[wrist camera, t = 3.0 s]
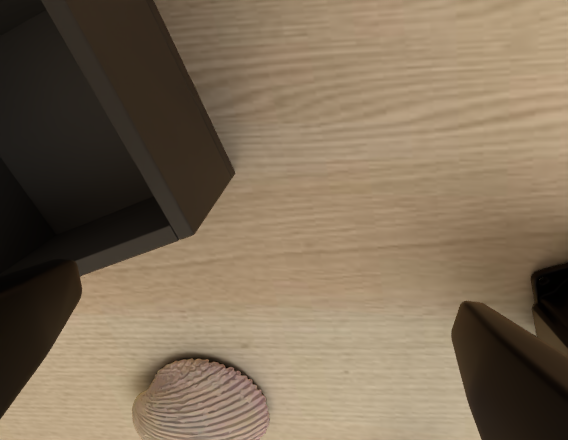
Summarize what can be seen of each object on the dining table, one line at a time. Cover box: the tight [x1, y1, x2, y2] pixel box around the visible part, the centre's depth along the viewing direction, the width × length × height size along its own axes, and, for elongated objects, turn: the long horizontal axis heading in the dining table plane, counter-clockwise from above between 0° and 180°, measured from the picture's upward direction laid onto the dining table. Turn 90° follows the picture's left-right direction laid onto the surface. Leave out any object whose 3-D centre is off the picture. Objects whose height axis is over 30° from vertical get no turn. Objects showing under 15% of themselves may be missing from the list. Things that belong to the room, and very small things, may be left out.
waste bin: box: [0, 0, 235, 276], centre depth 17 cm, size 12×11×8 cm
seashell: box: [132, 358, 270, 440], centre depth 27 cm, size 10×6×10 cm
